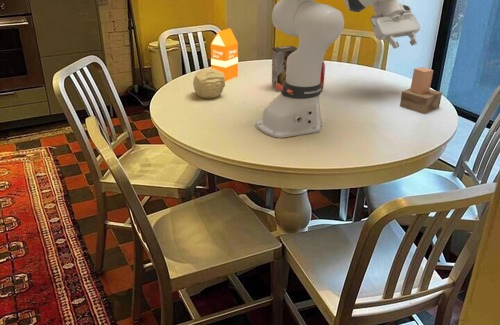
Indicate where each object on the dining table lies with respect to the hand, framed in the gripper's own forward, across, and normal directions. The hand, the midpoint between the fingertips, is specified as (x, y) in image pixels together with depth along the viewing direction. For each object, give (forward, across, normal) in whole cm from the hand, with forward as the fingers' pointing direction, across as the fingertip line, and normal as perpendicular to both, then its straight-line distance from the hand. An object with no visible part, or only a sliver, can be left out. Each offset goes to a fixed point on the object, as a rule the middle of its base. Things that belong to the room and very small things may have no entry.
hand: (405, 45), depth 173 cm
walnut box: (+22, 0, +7) cm, 23 cm away
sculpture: (-14, -59, +44) cm, 75 cm away
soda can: (-3, -20, +32) cm, 38 cm away
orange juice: (-26, -42, +56) cm, 75 cm away
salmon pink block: (+17, 0, +4) cm, 17 cm away
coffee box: (-9, -29, +38) cm, 49 cm away
